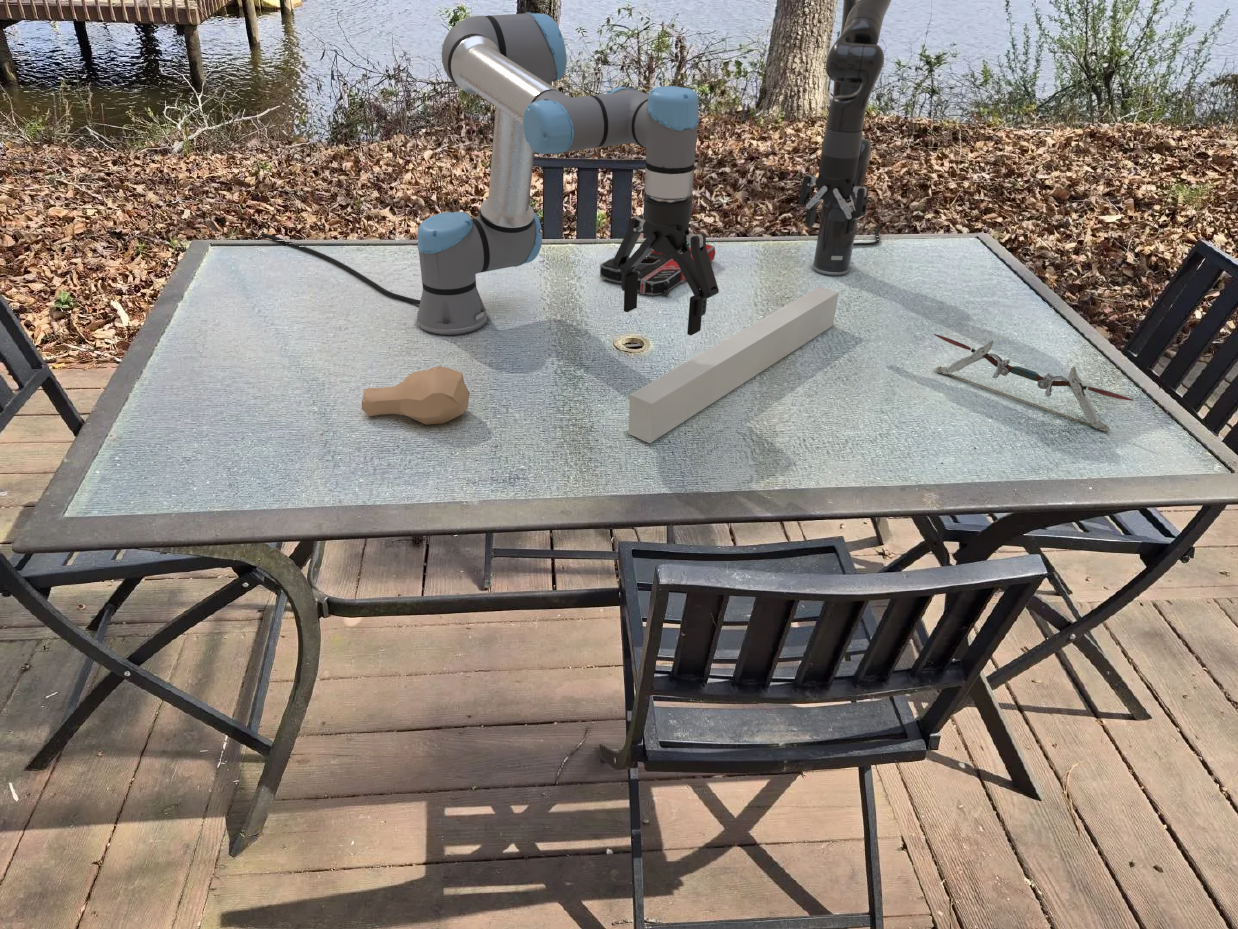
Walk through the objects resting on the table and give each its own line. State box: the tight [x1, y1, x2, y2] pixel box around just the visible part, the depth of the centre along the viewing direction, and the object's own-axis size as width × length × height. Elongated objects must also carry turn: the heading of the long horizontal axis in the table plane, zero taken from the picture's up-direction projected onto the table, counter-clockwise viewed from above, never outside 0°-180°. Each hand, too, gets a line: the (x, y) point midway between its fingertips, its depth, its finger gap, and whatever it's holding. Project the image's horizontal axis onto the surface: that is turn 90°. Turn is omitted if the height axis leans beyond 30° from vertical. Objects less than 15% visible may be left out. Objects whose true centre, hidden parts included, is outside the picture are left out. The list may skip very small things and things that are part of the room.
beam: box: [627, 286, 840, 444], centre depth 177 cm, size 68×5×8 cm, turn 140°
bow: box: [934, 333, 1134, 432], centre depth 170 cm, size 39×2×10 cm, turn 47°
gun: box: [599, 242, 716, 297], centre depth 224 cm, size 4×31×19 cm
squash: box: [361, 365, 471, 426], centre depth 160 cm, size 11×20×9 cm, turn 90°
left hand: (661, 320), depth 149 cm, fingers open, 13 cm apart
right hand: (827, 230), depth 185 cm, fingers open, 8 cm apart
